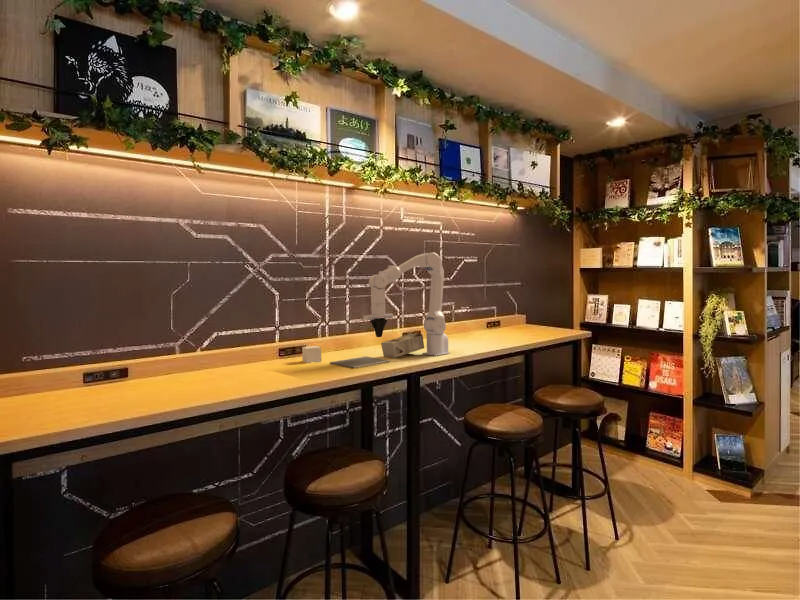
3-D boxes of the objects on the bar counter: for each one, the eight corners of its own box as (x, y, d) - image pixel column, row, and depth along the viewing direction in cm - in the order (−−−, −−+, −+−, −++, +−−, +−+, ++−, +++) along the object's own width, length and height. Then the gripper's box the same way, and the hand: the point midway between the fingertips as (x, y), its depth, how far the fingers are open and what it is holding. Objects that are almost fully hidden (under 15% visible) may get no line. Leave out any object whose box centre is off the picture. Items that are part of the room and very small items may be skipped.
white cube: (321, 362, 187) (321, 347, 187) (307, 363, 184) (306, 348, 184) (316, 359, 192) (315, 345, 192) (302, 361, 189) (302, 346, 189)
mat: (365, 357, 194) (365, 356, 194) (390, 362, 183) (390, 360, 183) (329, 363, 182) (329, 362, 182) (354, 368, 170) (354, 367, 170)
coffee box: (380, 342, 196) (409, 333, 206) (383, 356, 197) (412, 347, 206) (393, 342, 189) (422, 333, 199) (396, 358, 190) (425, 348, 199)
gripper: (385, 302, 196) (385, 334, 197) (358, 304, 186) (359, 337, 187) (396, 303, 191) (397, 335, 192) (369, 304, 181) (370, 339, 182)
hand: (379, 336), depth 189 cm, fingers closed
